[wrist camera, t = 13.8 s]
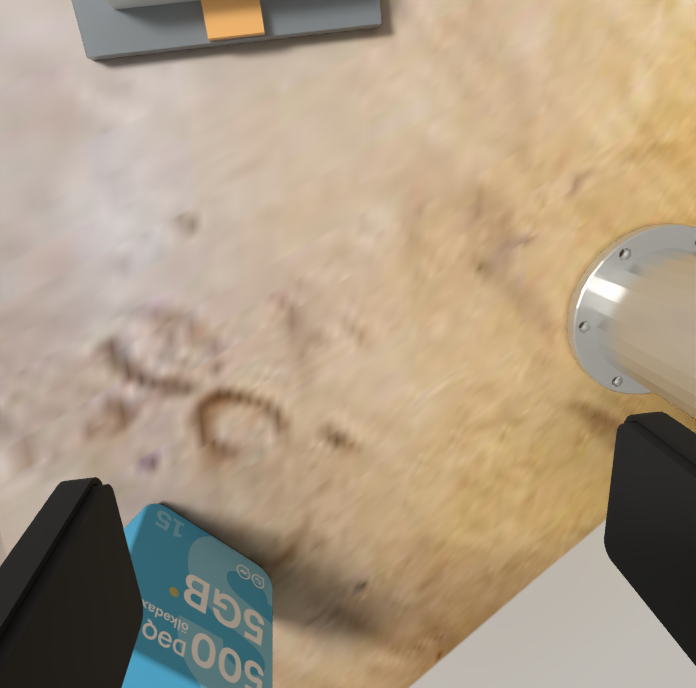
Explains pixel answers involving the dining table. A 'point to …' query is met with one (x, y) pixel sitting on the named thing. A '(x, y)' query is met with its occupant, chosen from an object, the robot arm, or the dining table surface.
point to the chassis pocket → (210, 22)
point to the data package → (197, 608)
